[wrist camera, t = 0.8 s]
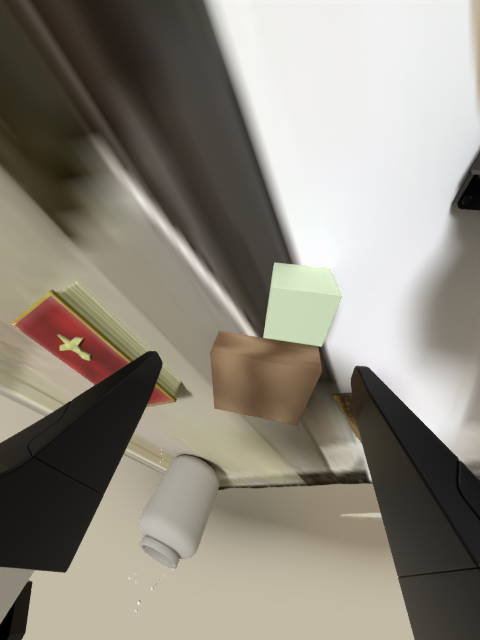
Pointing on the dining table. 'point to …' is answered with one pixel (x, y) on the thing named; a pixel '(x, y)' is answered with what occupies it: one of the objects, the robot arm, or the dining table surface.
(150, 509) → the jar
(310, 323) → the green cube
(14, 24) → the dining table surface
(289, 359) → the walnut block
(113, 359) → the hardcover book
